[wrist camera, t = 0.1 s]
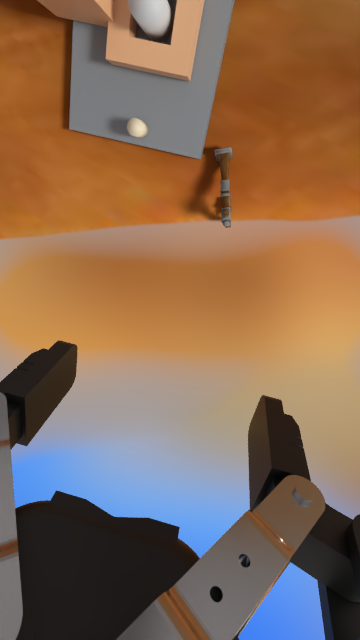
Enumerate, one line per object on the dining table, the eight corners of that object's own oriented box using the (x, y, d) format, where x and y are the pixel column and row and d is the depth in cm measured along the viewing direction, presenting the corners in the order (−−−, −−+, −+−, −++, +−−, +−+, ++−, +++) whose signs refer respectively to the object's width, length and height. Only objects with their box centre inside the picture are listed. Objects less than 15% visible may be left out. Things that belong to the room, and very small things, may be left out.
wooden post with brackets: (220, 235, 38) (217, 225, 34) (217, 167, 38) (214, 149, 34) (236, 234, 38) (234, 223, 34) (233, 165, 38) (231, 146, 33)
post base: (83, -84, 29) (48, -140, 24) (245, -54, 28) (247, -105, 23) (74, 130, 37) (45, 124, 31) (201, 159, 36) (194, 158, 31)
